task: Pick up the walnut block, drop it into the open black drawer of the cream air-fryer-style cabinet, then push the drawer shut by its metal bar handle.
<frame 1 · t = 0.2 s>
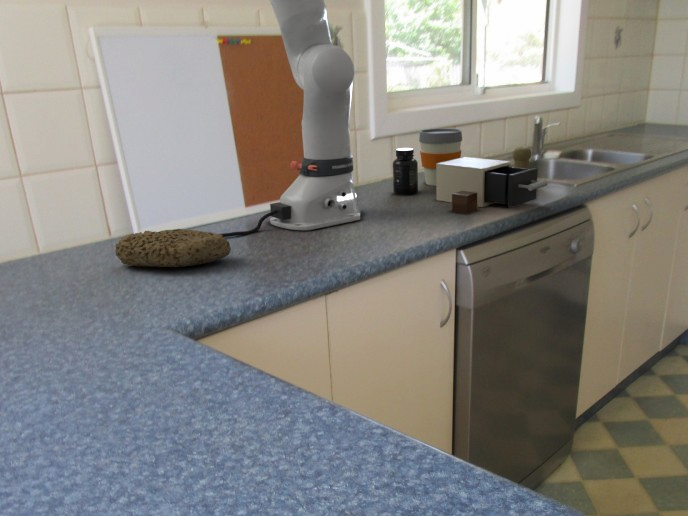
sponge: (177, 265, 128), on the countertop
cork: (520, 188, 187), on the countertop
supplement bottle: (405, 193, 184), on the countertop
drawer: (508, 185, 166), point 5 cm above the countertop, slide at 7.0 cm
reusable coffee cup: (440, 183, 196), on the countertop
block: (464, 211, 162), on the countertop
cabinet: (473, 199, 174), on the countertop
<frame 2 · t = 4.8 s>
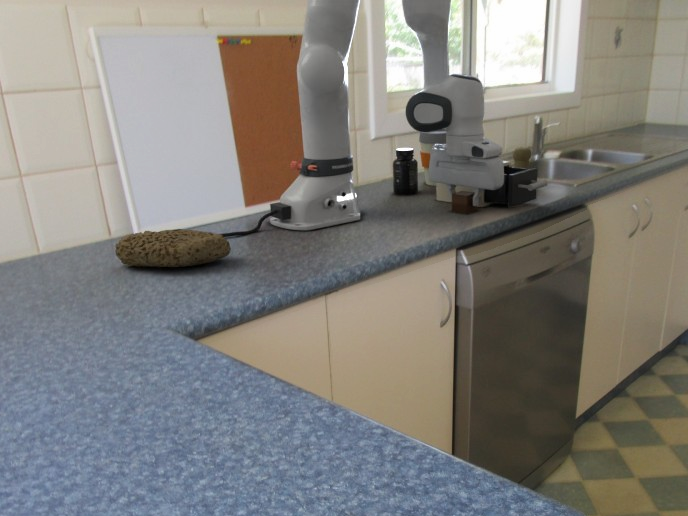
hand: (464, 204, 162), 2 cm above the countertop, tool pointing down, fingers closed on block, 4 cm apart
block: (464, 211, 162), on the countertop, touching gripper
everything else where it was.
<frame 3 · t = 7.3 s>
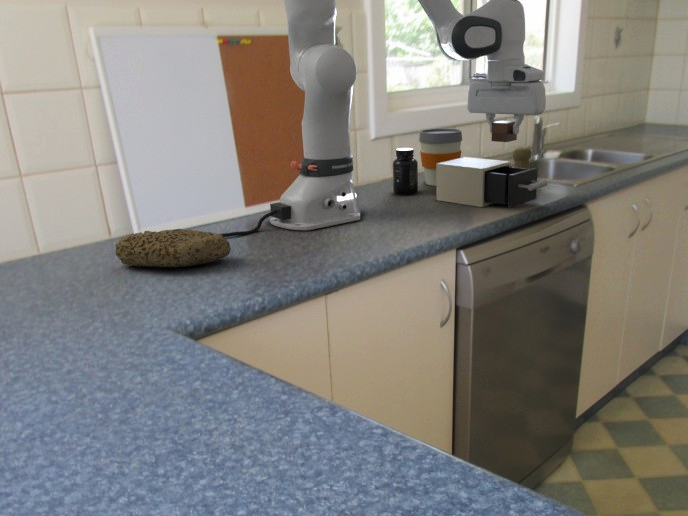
hand: (504, 133, 160), 18 cm above the countertop, tool pointing down, fingers closed on block, 4 cm apart
block: (504, 140, 161), point 16 cm above the countertop, touching gripper
everything else where it was.
when the fingers open (10 cm above the countertop, at t = 9.8 s): block drops 6 cm, resting on drawer.
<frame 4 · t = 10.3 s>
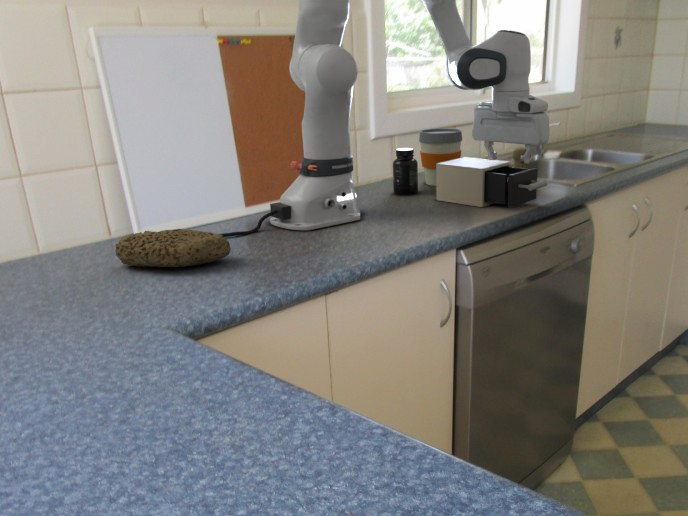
hand: (508, 161, 164), 11 cm above the countertop, tool pointing down, fingers open, 8 cm apart
drawer: (508, 185, 166), point 5 cm above the countertop, slide at 7.0 cm, touching block
block: (507, 196, 167), point 2 cm above the countertop, touching drawer
everything else where it was.
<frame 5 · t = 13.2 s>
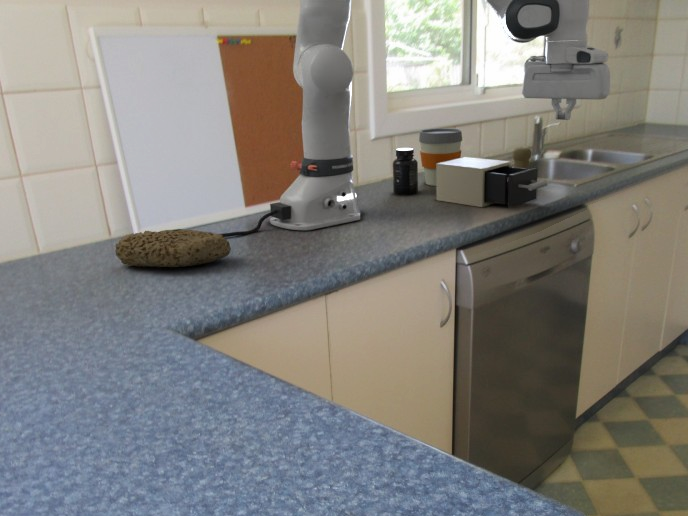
hand: (562, 119, 151), 21 cm above the countertop, tool pointing down, fingers closed
nothing on the countertop moved.
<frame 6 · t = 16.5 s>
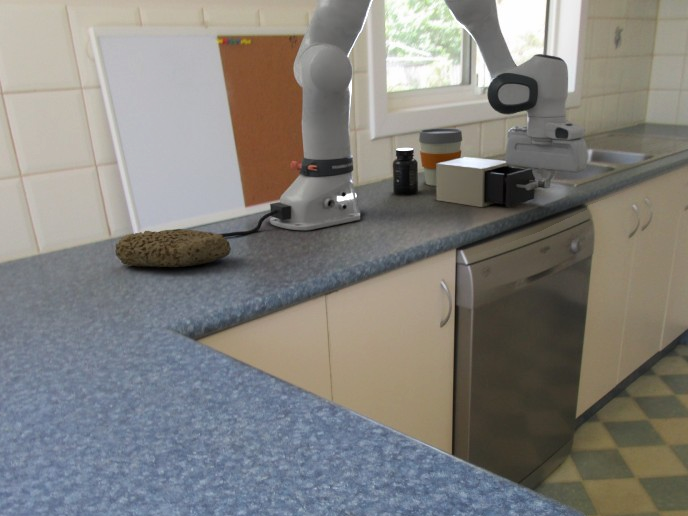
hand: (542, 187, 159), 5 cm above the countertop, tool pointing down, fingers closed
drawer: (506, 185, 166), point 5 cm above the countertop, slide at 6.4 cm, touching block, gripper
everything else where it was.
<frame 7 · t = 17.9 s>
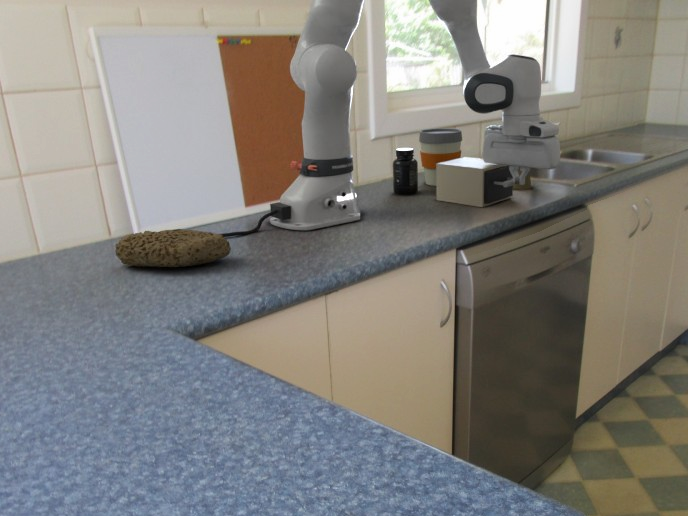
hand: (518, 184, 163), 5 cm above the countertop, tool pointing down, fingers closed
drawer: (485, 182, 170), point 5 cm above the countertop, slide at 0.0 cm, touching block, cabinet, gripper
block: (484, 193, 171), point 2 cm above the countertop, touching drawer
everything else where it was.
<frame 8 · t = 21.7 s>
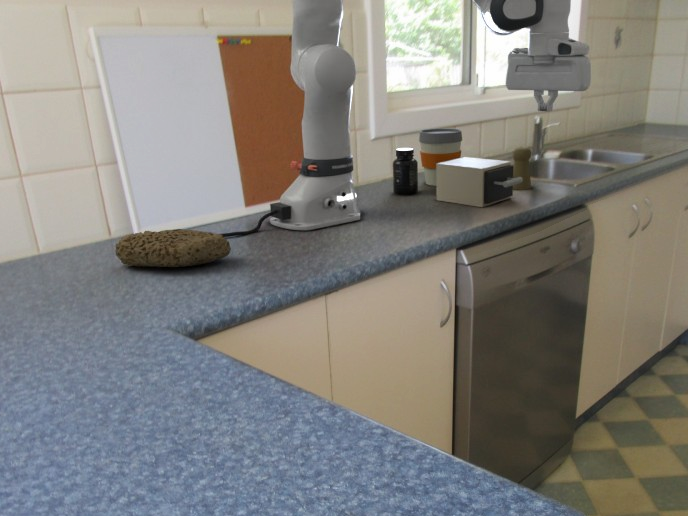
hand: (545, 111, 153), 23 cm above the countertop, tool pointing down, fingers closed
drawer: (485, 182, 170), point 5 cm above the countertop, slide at 0.0 cm, touching block, cabinet
everything else where it was.
at the end: block inside the target area in the cabinet (3.5 cm from its centre), point 2.0 cm above the cabinet's base; drawer slide at 0.0 cm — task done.
